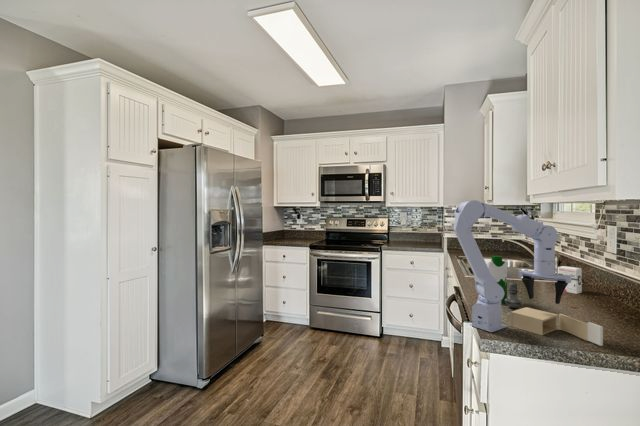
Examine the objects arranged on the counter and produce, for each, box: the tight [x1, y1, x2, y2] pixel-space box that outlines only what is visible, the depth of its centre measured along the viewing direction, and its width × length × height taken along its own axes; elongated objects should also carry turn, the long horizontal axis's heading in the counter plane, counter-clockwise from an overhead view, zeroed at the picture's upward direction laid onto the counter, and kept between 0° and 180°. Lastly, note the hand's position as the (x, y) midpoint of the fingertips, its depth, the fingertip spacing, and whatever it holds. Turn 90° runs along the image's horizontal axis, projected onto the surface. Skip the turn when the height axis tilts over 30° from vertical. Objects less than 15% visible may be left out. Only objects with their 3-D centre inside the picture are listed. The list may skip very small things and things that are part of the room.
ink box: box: [557, 265, 583, 294], centre depth 159 cm, size 8×5×12 cm, turn 28°
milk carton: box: [484, 255, 509, 304], centre depth 144 cm, size 9×9×20 cm
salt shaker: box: [505, 279, 522, 312], centre depth 131 cm, size 6×6×12 cm
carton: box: [510, 306, 559, 336], centre depth 110 cm, size 10×10×5 cm
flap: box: [558, 313, 604, 347], centre depth 102 cm, size 14×1×6 cm, turn 6°
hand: (544, 300), depth 110 cm, fingers open, 7 cm apart
